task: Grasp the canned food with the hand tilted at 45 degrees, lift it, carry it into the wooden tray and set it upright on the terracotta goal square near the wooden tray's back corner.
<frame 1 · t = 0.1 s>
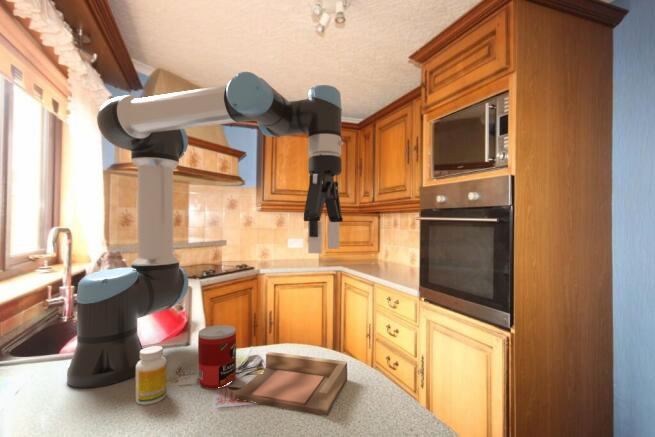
hand: (325, 250, 74), 28 cm above the countertop, tool pointing down, fingers open, 13 cm apart
wooden tray: (294, 389, 68), on the countertop
canned food: (217, 381, 72), on the countertop
supplement bottle: (151, 399, 65), on the countertop
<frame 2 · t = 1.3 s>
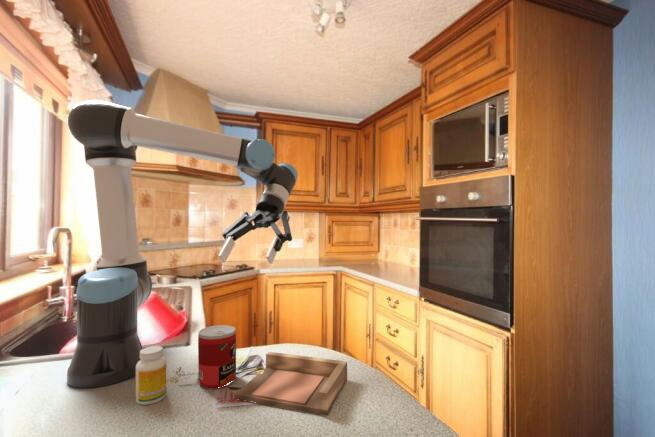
hand: (244, 259, 82), 25 cm above the countertop, tool tilted 45°, fingers open, 13 cm apart
nothing on the countertop moved.
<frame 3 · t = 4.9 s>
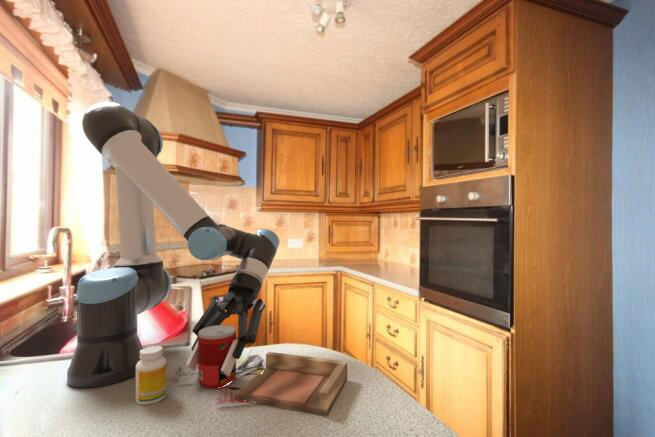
hand: (207, 370, 68), 4 cm above the countertop, tool tilted 45°, fingers closed on canned food, 8 cm apart
canned food: (217, 381, 72), on the countertop, touching gripper
everything else where it was.
when the fingers open (6 cm above the countertop, at t = 10.0 s): canned food drops 1 cm, resting on wooden tray.
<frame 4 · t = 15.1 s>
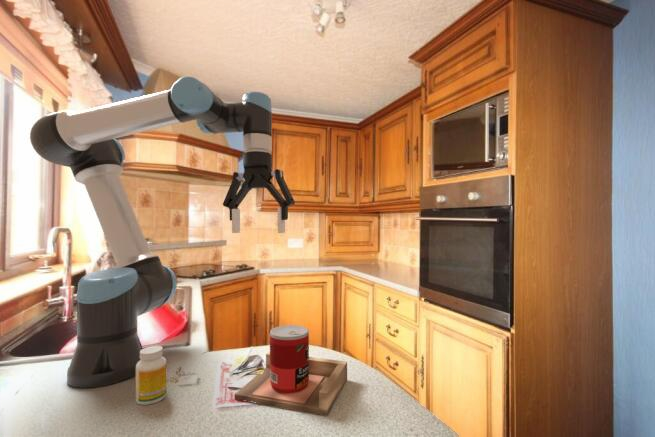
hand: (258, 233, 87), 32 cm above the countertop, tool pointing down, fingers open, 13 cm apart
canned food: (289, 385, 67), point 1 cm above the countertop, touching wooden tray
everything else where it was.
at the end: canned food 0.1 cm from the target spot on the wooden tray, point 1.1 cm above the wooden tray's base; canned food tilted 0°; the gripper is holding nothing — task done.
